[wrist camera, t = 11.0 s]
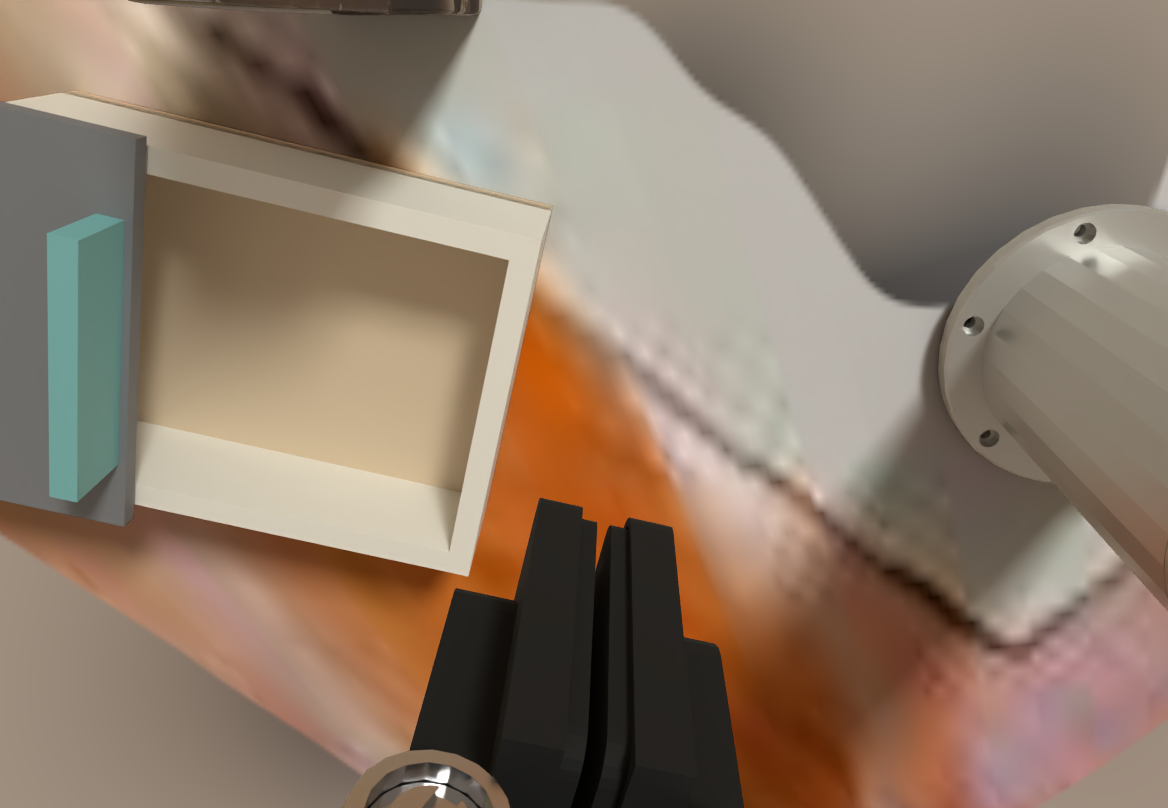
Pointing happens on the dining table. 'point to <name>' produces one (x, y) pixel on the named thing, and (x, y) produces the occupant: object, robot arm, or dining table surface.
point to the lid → (69, 313)
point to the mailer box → (321, 337)
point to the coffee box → (336, 6)
